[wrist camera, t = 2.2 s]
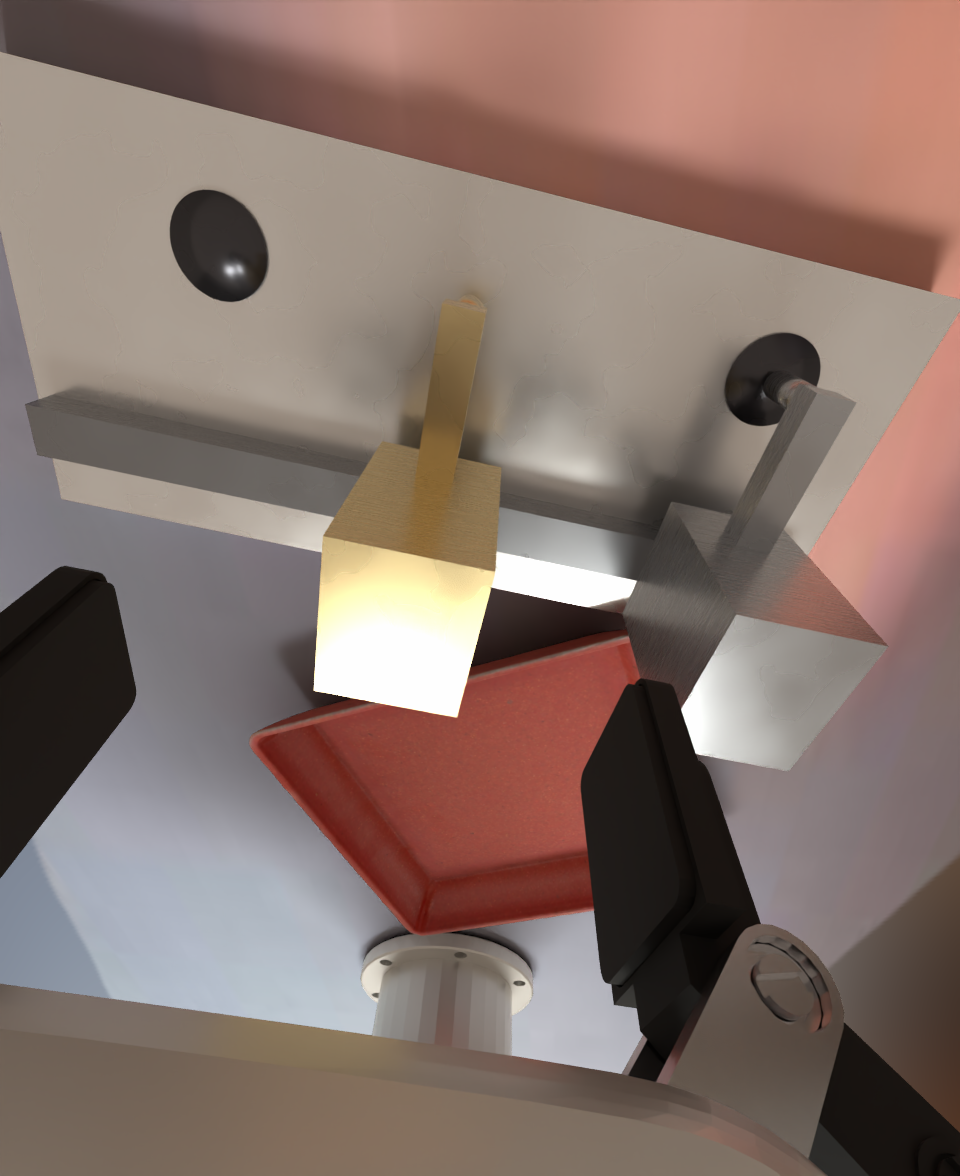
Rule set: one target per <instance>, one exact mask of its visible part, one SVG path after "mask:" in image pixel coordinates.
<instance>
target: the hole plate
mask: <svg viewBox="0 0 960 1176" xmlns="http://www.w3.org/2000/svg"><path fill="white" fill-rule="evenodd" d="M0 231H1V235H2V239H3V244H4V248H5V253H6V257H7V261H8V266H9V270H10V275H11V279H12V283H13V288H14V292H15V297H16V301H17V305H18V310H19V314H20V319H21V323H22V327H23V332H24V336H25V340H26V345H27V349H28V354H29V358H30V362H31V367H32V371H33V376H34V380H35V384H36V389H37V393H38V398H39V400H36V401H33V402H30V403H28V404H25V406H26V410H27V414H28V418H29V422H30V426H31V430H32V435H33V439H34V443H35V447H36V451H37V455H40V456H45V457H50V458H52V459H53V463H54V468H55V472H56V477H57V481H58V485H59V490H60V494H61V499H64V500H69V501H74V502H79V503H84V504H88V505H93V506H98V507H103V508H108V509H113V510H118V511H122V512H127V513H132V514H137V515H142V516H147V517H152V518H156V519H161V520H166V521H171V522H176V523H181V524H186V525H191V526H195V527H200V528H205V529H210V530H215V531H220V532H225V533H229V534H234V535H239V536H244V537H249V538H254V539H259V540H263V541H268V542H273V543H278V544H283V545H288V546H293V547H297V548H302V549H307V550H312V551H317V552H322V541H323V535H324V533H325V532H326V530H327V529H328V527H329V525H330V524H331V522H332V521H333V519H334V517H335V516H336V514H337V513H338V511H339V509H340V508H341V506H342V505H343V503H344V501H345V500H346V498H347V497H348V495H349V493H350V492H351V490H352V489H353V487H354V485H355V484H356V482H357V481H358V479H359V477H360V476H361V474H362V473H363V471H364V469H365V468H366V466H367V465H368V463H369V461H370V460H371V458H372V457H373V455H374V453H375V452H376V450H377V449H378V447H379V445H380V444H381V442H382V441H384V442H389V443H393V444H398V445H402V446H407V447H411V448H416V449H420V443H421V437H422V430H423V424H424V417H425V411H426V404H427V398H428V391H429V385H430V378H431V372H432V365H433V358H434V352H435V345H436V339H437V332H438V326H439V319H440V313H441V306H442V302H443V301H444V300H445V299H446V298H448V299H452V300H456V301H458V300H459V299H460V298H461V297H462V296H464V295H468V294H470V295H474V296H476V297H478V298H479V299H480V300H481V302H482V304H483V306H484V307H485V308H487V313H486V318H485V323H484V328H483V333H482V338H481V343H480V349H479V354H478V359H477V364H476V369H475V374H474V379H473V384H472V390H471V395H470V400H469V405H468V410H467V415H466V420H465V425H464V431H463V436H462V441H461V446H460V451H459V456H458V458H461V459H465V460H470V461H474V462H479V463H483V464H488V465H493V466H497V467H501V483H500V501H499V519H498V536H497V554H496V572H495V576H494V579H493V583H492V588H497V589H502V590H507V591H511V592H516V593H521V594H526V595H531V596H536V597H541V598H545V599H550V600H555V601H560V602H565V603H570V604H575V605H579V606H584V607H589V608H594V609H599V610H604V611H609V612H613V613H618V614H623V618H624V621H625V625H626V628H627V632H628V636H629V639H630V643H631V646H632V650H633V654H634V657H635V661H636V664H637V668H638V671H639V675H640V678H644V679H649V680H654V681H659V682H664V683H670V684H671V685H672V686H673V687H674V689H675V692H676V695H677V698H678V701H679V704H680V707H681V710H682V713H683V716H684V719H685V722H686V725H687V728H688V731H689V735H690V738H691V741H692V744H693V747H694V750H695V753H696V754H699V755H705V756H710V757H715V758H720V759H726V760H731V761H736V762H742V763H747V764H752V765H757V766H763V767H768V768H773V769H779V770H784V771H789V770H790V769H791V768H792V766H793V765H794V764H795V763H796V761H797V760H798V759H799V758H800V756H801V755H802V754H803V753H804V751H805V750H806V749H807V748H808V746H809V745H810V744H811V743H812V741H813V740H814V739H815V738H816V736H817V735H818V734H819V733H820V731H821V730H822V729H823V728H824V726H825V725H826V724H827V723H828V721H829V720H830V719H831V718H832V716H833V715H834V714H835V713H836V711H837V710H838V709H839V708H840V706H841V705H842V704H843V703H844V701H845V700H846V699H847V698H848V696H849V695H850V694H851V693H852V691H853V690H854V689H855V688H856V686H857V685H858V684H859V683H860V681H861V680H862V679H863V678H864V676H865V675H866V674H867V673H868V671H869V670H870V669H871V668H872V666H873V665H874V664H875V663H876V661H877V660H878V659H879V658H880V656H881V655H882V654H883V653H884V651H885V650H886V649H887V648H888V645H887V644H886V643H885V642H884V641H883V640H882V639H881V638H880V636H879V635H878V634H877V633H876V632H875V631H874V630H873V629H872V628H871V626H870V625H869V624H868V623H867V622H866V621H865V620H864V619H863V617H862V616H861V615H860V614H859V613H858V612H857V611H856V610H855V609H854V607H853V606H852V605H851V604H850V603H849V602H848V601H847V600H846V598H845V597H844V596H843V595H842V594H841V593H840V592H839V591H838V590H837V588H836V587H835V586H834V585H833V584H832V583H831V582H830V581H829V579H828V578H827V577H826V576H825V575H824V574H823V573H822V572H821V570H820V569H819V568H818V567H817V566H816V565H815V564H814V563H813V562H812V560H811V559H810V558H809V557H808V554H809V553H810V551H811V549H812V548H813V546H814V545H815V543H816V541H817V540H818V538H819V537H820V535H821V533H822V532H823V530H824V529H825V527H826V525H827V524H828V522H829V520H830V519H831V517H832V516H833V514H834V512H835V511H836V509H837V508H838V506H839V504H840V503H841V501H842V500H843V498H844V496H845V495H846V493H847V492H848V490H849V488H850V487H851V485H852V484H853V482H854V480H855V479H856V477H857V476H858V474H859V472H860V471H861V469H862V468H863V466H864V464H865V463H866V461H867V459H868V458H869V456H870V455H871V453H872V451H873V450H874V448H875V447H876V445H877V443H878V442H879V440H880V439H881V437H882V435H883V434H884V432H885V431H886V429H887V427H888V426H889V424H890V423H891V421H892V419H893V418H894V416H895V415H896V413H897V411H898V410H899V408H900V406H901V405H902V403H903V402H904V400H905V398H906V397H907V395H908V394H909V392H910V390H911V389H912V387H913V386H914V384H915V382H916V381H917V379H918V378H919V376H920V374H921V373H922V371H923V370H924V368H925V366H926V365H927V363H928V362H929V360H930V358H931V357H932V355H933V354H934V352H935V350H936V349H937V347H938V345H939V344H940V342H941V341H942V339H943V337H944V336H945V334H946V333H947V331H948V329H949V328H950V326H951V325H952V323H953V321H954V320H955V318H956V317H957V315H958V313H959V312H960V299H956V298H952V297H949V296H945V295H941V294H937V293H933V292H929V291H925V290H921V289H918V288H914V287H910V286H906V285H902V284H898V283H894V282H890V281H887V280H883V279H879V278H875V277H871V276H867V275H863V274H859V273H856V272H852V271H848V270H844V269H840V268H836V267H832V266H828V265H824V264H821V263H817V262H813V261H809V260H805V259H801V258H797V257H793V256H790V255H786V254H782V253H778V252H774V251H770V250H766V249H762V248H759V247H755V246H751V245H747V244H743V243H739V242H735V241H731V240H728V239H724V238H720V237H716V236H712V235H708V234H704V233H700V232H697V231H693V230H689V229H685V228H681V227H677V226H673V225H669V224H666V223H662V222H658V221H654V220H650V219H646V218H642V217H638V216H634V215H631V214H627V213H623V212H619V211H615V210H611V209H607V208H603V207H600V206H596V205H592V204H588V203H584V202H580V201H576V200H572V199H569V198H565V197H561V196H557V195H553V194H549V193H545V192H541V191H538V190H534V189H530V188H526V187H522V186H518V185H514V184H510V183H507V182H503V181H499V180H495V179H491V178H487V177H483V176H479V175H476V174H472V173H468V172H464V171H460V170H456V169H452V168H448V167H444V166H441V165H437V164H433V163H429V162H425V161H421V160H417V159H413V158H410V157H406V156H402V155H398V154H394V153H390V152H386V151H382V150H379V149H375V148H371V147H367V146H363V145H359V144H355V143H351V142H348V141H344V140H340V139H336V138H332V137H328V136H324V135H320V134H317V133H313V132H309V131H305V130H301V129H297V128H293V127H289V126H285V125H282V124H278V123H274V122H270V121H266V120H262V119H258V118H254V117H251V116H247V115H243V114H239V113H235V112H231V111H227V110H223V109H220V108H216V107H212V106H208V105H204V104H200V103H196V102H192V101H189V100H185V99H181V98H177V97H173V96H169V95H165V94H161V93H158V92H154V91H150V90H146V89H142V88H138V87H134V86H130V85H127V84H123V83H119V82H115V81H111V80H107V79H103V78H99V77H95V76H92V75H88V74H84V73H80V72H76V71H72V70H68V69H64V68H61V67H57V66H53V65H49V64H45V63H41V62H37V61H33V60H30V59H26V58H22V57H18V56H14V55H10V54H6V53H2V52H0Z"/></svg>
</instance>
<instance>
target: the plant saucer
mask: <svg viewBox="0 0 960 1176" xmlns="http://www.w3.org/2000/svg"><path fill="white" fill-rule="evenodd" d="M638 679H640V675H639V671H638V668H637V664H636V661H635V657H634V654H633V650H632V646H631V643H630V639H629V636H628V632H627V630H617V631H608V632H603V633H598V634H594V635H590V636H586V637H582V638H578V639H574V640H571V641H567V642H563V643H560V644H556V645H552V646H548V647H545V648H541V649H537V650H534V651H530V652H526V653H523V654H519V655H515V656H512V657H508V658H504V659H501V660H496V661H493V662H489V663H486V664H482V665H478V666H474V667H470V670H469V673H468V677H467V681H466V685H465V689H464V692H463V696H462V700H461V704H460V707H459V711H458V715H457V717H452V716H446V715H441V714H436V713H431V712H425V711H420V710H415V709H409V708H404V707H399V706H393V705H388V704H383V703H377V702H372V701H367V700H361V699H356V698H353V699H349V700H346V701H342V702H338V703H334V704H330V705H327V706H323V707H320V708H316V709H312V710H309V711H306V712H303V713H300V714H297V715H294V716H292V717H289V718H286V719H284V720H281V721H279V722H276V723H274V724H272V725H269V726H267V727H265V728H263V729H261V730H259V731H257V732H255V733H254V734H252V735H251V737H250V740H249V744H250V747H251V749H252V750H253V752H254V753H255V754H256V755H257V756H258V757H259V758H260V760H261V761H262V762H263V763H264V765H265V766H266V767H267V768H268V769H269V770H270V771H271V772H272V774H273V775H274V776H275V777H276V779H277V780H278V781H279V782H280V783H281V785H282V786H283V787H284V788H285V789H286V790H287V791H288V792H289V793H290V795H291V796H292V797H293V798H294V799H295V801H296V802H297V803H298V804H299V805H300V807H301V808H302V809H303V810H304V811H305V812H306V813H307V815H308V816H309V817H310V818H311V819H312V820H313V822H314V823H315V824H316V825H317V826H318V827H319V829H320V830H321V832H322V833H323V834H324V835H325V836H326V837H327V838H328V839H329V840H330V841H331V842H332V844H333V845H334V846H335V847H336V848H337V850H338V851H339V852H340V853H341V854H342V855H343V857H344V858H345V859H346V860H347V861H348V862H349V864H350V865H351V866H352V867H353V868H354V870H355V871H356V872H357V873H358V874H359V875H360V876H361V877H362V878H363V880H364V881H365V882H366V883H367V885H368V886H369V887H370V888H371V889H372V890H373V891H374V892H375V893H376V895H377V896H378V897H379V898H380V899H381V901H382V902H383V903H384V904H385V905H386V906H387V907H388V908H389V910H390V911H391V912H392V913H393V914H394V915H395V917H396V918H397V919H398V920H399V922H400V923H401V924H402V925H403V926H404V927H405V928H406V929H407V930H408V931H409V932H411V933H413V934H417V935H420V936H425V935H434V934H441V933H447V932H454V931H460V930H467V929H474V928H481V927H487V926H494V925H501V924H508V923H514V922H522V921H528V920H534V919H540V918H549V917H555V916H560V915H569V914H574V913H582V912H589V911H594V906H593V897H592V888H591V879H590V870H589V861H588V852H587V843H586V834H585V825H584V816H583V807H582V798H581V787H580V786H581V776H582V772H583V770H584V768H585V766H586V764H587V762H588V760H589V758H590V756H591V754H592V752H593V750H594V748H595V746H596V744H597V742H598V740H599V738H600V736H601V734H602V732H603V730H604V728H605V726H606V724H607V722H608V720H609V718H610V716H611V714H612V712H613V710H614V708H615V706H616V704H617V702H618V700H619V698H620V696H621V694H622V692H623V690H624V688H625V687H626V685H628V684H634V685H635V683H636V681H637V680H638Z"/></svg>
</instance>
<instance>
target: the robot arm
mask: <svg viewBox="0 0 960 1176" xmlns="http://www.w3.org/2000/svg"><path fill="white" fill-rule="evenodd" d="M135 697H136V686H135V682H134V677H133V672H132V667H131V663H130V658H129V653H128V648H127V644H126V639H125V634H124V629H123V625H122V620H121V615H120V610H119V606H118V601H117V596H116V592H115V588H114V586H113V585H112V584H111V583H107V581H106V578H105V576H104V575H103V574H101V573H99V572H94V571H89V570H84V569H79V568H74V567H68V566H63V567H59V568H58V569H56V570H54V571H53V572H52V573H50V574H49V575H48V576H47V577H45V578H44V579H43V580H42V581H40V582H39V583H38V584H36V585H35V586H34V587H33V588H31V589H30V590H29V591H28V592H26V593H25V594H24V595H22V596H21V597H20V598H19V599H17V600H16V601H15V602H14V603H12V604H11V605H10V606H8V607H7V608H6V609H5V610H3V611H2V612H1V613H0V878H1V877H2V876H3V874H4V873H5V872H6V870H7V869H8V868H9V866H10V865H11V864H12V863H13V861H14V860H15V859H16V857H17V856H18V855H19V853H20V852H21V851H22V850H23V848H24V847H25V846H26V844H27V843H28V842H29V840H30V839H31V838H32V837H33V835H34V834H35V833H36V831H37V830H38V829H39V827H40V826H41V825H42V824H43V822H44V821H45V820H46V818H47V817H48V816H49V814H50V813H51V812H52V811H53V809H54V808H55V807H56V805H57V804H58V803H59V801H60V800H61V799H62V798H63V796H64V795H65V794H66V792H67V791H68V790H69V788H70V787H71V786H72V784H73V783H74V782H75V781H76V779H77V778H78V777H79V775H80V774H81V773H82V771H83V770H84V769H85V768H86V766H87V765H88V764H89V762H90V761H91V760H92V758H93V757H94V756H95V755H96V753H97V752H98V751H99V749H100V748H101V747H102V745H103V744H104V743H105V742H106V740H107V739H108V738H109V736H110V735H111V734H112V732H113V731H114V730H115V729H116V727H117V726H118V725H119V723H120V722H121V721H122V719H123V718H124V717H125V716H126V714H127V713H128V712H129V710H130V709H131V707H132V705H133V703H134V700H135ZM580 787H581V798H582V807H583V816H584V825H585V834H586V843H587V852H588V861H589V870H590V879H591V888H592V897H593V906H594V915H595V924H596V933H597V942H598V951H599V960H600V969H601V974H602V977H603V980H604V981H605V983H608V984H611V985H612V993H613V1001H614V1005H618V1006H625V1007H632V1008H637V1012H638V1019H639V1025H640V1031H641V1032H642V1034H643V1036H642V1038H641V1040H640V1041H639V1043H638V1045H637V1047H636V1049H635V1050H634V1052H633V1054H632V1056H631V1058H630V1060H629V1061H628V1063H627V1065H626V1067H625V1069H624V1070H623V1072H622V1074H618V1073H613V1072H607V1071H601V1070H595V1069H589V1068H582V1067H576V1066H570V1065H564V1064H558V1063H552V1062H546V1061H540V1060H534V1059H528V1058H522V1057H516V1056H512V1015H514V1014H516V1013H518V1012H519V1011H521V1010H522V1009H524V1008H525V1007H526V1005H527V1004H528V1003H529V1002H530V1001H531V998H532V996H533V976H532V972H531V969H530V968H529V966H528V965H527V963H526V962H525V961H524V960H523V959H522V958H520V957H519V956H518V955H517V954H516V953H514V952H512V951H511V950H509V949H507V948H506V947H503V946H501V945H499V944H496V943H494V942H492V941H488V940H485V939H481V938H478V937H474V936H468V935H463V934H456V933H441V934H434V935H425V936H420V935H417V934H408V935H403V936H399V937H395V938H392V939H390V940H387V941H385V942H382V943H381V944H379V945H378V946H376V947H374V948H373V949H372V950H371V951H370V952H369V953H368V954H367V955H366V957H365V960H364V962H363V967H362V973H361V978H360V979H361V983H362V987H363V988H364V990H365V991H366V993H367V994H368V995H369V996H370V997H371V998H372V999H373V1000H374V1001H375V1002H377V1003H378V1004H377V1009H376V1015H375V1021H374V1026H373V1032H372V1035H365V1034H358V1033H352V1032H345V1031H338V1030H330V1029H323V1028H316V1027H309V1026H302V1025H295V1024H288V1023H281V1022H274V1021H267V1020H259V1019H252V1018H245V1017H238V1016H231V1015H224V1014H217V1013H210V1012H202V1011H195V1010H188V1009H181V1008H174V1007H167V1006H159V1005H152V1004H145V1003H138V1002H131V1001H123V1000H116V999H109V998H101V997H94V996H86V995H79V994H72V993H64V992H56V991H49V990H42V989H35V988H27V987H19V986H11V985H5V984H0V1176H960V1133H959V1132H958V1131H957V1130H956V1129H955V1128H954V1127H953V1126H952V1125H951V1124H950V1123H949V1122H948V1121H947V1120H946V1119H945V1118H944V1117H942V1115H941V1114H940V1113H938V1112H937V1111H936V1110H935V1109H934V1108H933V1107H932V1106H931V1105H930V1104H929V1103H928V1102H927V1101H926V1100H925V1099H924V1098H923V1097H922V1096H921V1095H920V1094H919V1093H918V1092H917V1091H915V1090H914V1089H913V1088H912V1087H911V1086H910V1085H909V1084H908V1083H907V1082H906V1081H905V1080H904V1079H903V1078H902V1077H901V1076H900V1075H899V1074H898V1073H896V1072H895V1071H894V1070H893V1069H892V1068H891V1067H890V1066H889V1065H888V1064H887V1063H886V1062H885V1061H884V1060H883V1059H882V1058H881V1057H880V1056H879V1055H878V1054H877V1053H876V1052H874V1051H873V1050H872V1049H871V1048H870V1047H869V1046H868V1045H867V1044H866V1043H865V1042H864V1041H863V1040H862V1039H861V1038H860V1037H859V1036H858V1035H857V1034H856V1033H855V1032H854V1031H853V1030H852V1029H851V1028H849V1027H848V1026H847V1025H846V1024H845V1023H844V1009H843V1005H842V1000H841V996H840V993H839V991H838V989H837V986H836V984H835V982H834V980H833V978H832V976H831V974H830V973H829V971H828V970H827V968H826V967H825V965H824V964H823V963H822V961H821V960H820V958H819V957H818V956H817V955H816V954H815V953H814V952H813V951H812V950H811V949H810V948H809V947H808V946H807V945H806V944H805V943H804V942H803V941H801V940H800V939H798V938H797V937H795V936H794V935H792V934H791V933H789V932H788V931H786V930H783V929H781V928H778V927H776V926H773V925H765V924H761V923H760V920H759V917H758V914H757V911H756V908H755V905H754V902H753V899H752V897H751V894H750V891H749V888H748V885H747V882H746V879H745V876H744V873H743V870H742V867H741V864H740V861H739V859H738V856H737V853H736V850H735V847H734V844H733V841H732V838H731V835H730V832H729V829H728V826H727V823H726V820H725V818H724V815H723V812H722V809H721V806H720V803H719V800H718V797H717V794H716V791H715V788H714V785H713V782H712V780H711V777H710V774H709V772H708V770H707V768H706V766H705V765H704V764H703V763H702V762H701V761H698V759H697V756H696V753H695V750H694V747H693V744H692V741H691V738H690V735H689V731H688V728H687V725H686V722H685V719H684V716H683V713H682V710H681V707H680V704H679V701H678V698H677V695H676V692H675V689H674V687H673V686H672V685H671V684H670V683H664V682H659V681H654V680H649V679H644V678H640V679H638V680H637V681H636V683H635V685H634V684H628V685H626V687H625V688H624V690H623V692H622V694H621V696H620V698H619V700H618V702H617V704H616V706H615V708H614V710H613V712H612V714H611V716H610V718H609V720H608V722H607V724H606V726H605V728H604V730H603V732H602V734H601V736H600V738H599V740H598V742H597V744H596V746H595V748H594V750H593V752H592V754H591V756H590V758H589V760H588V762H587V764H586V766H585V768H584V770H583V772H582V776H581V786H580Z"/></svg>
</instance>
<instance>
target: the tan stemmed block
mask: <svg viewBox="0 0 960 1176" xmlns="http://www.w3.org/2000/svg"><path fill="white" fill-rule="evenodd" d="M486 313H487V308H485V307H484V306H483V304H482V302H481V300H480V299H479V298H478V297H476V296H474V295H470V294H468V295H464V296H462V297H461V298H460V299H459V300H458V301H456V300H452V299H448V298H446V299H445V300H444V301H443V302H442V306H441V313H440V319H439V326H438V332H437V339H436V345H435V352H434V358H433V365H432V372H431V378H430V385H429V391H428V398H427V404H426V411H425V417H424V424H423V430H422V437H421V443H420V449H416V448H411V447H407V446H402V445H398V444H393V443H389V442H384V441H382V442H381V444H380V445H379V447H378V449H377V450H376V452H375V453H374V455H373V457H372V458H371V460H370V461H369V463H368V465H367V466H366V468H365V469H364V471H363V473H362V474H361V476H360V477H359V479H358V481H357V482H356V484H355V485H354V487H353V489H352V490H351V492H350V493H349V495H348V497H347V498H346V500H345V501H344V503H343V505H342V506H341V508H340V509H339V511H338V513H337V514H336V516H335V517H334V519H333V521H332V522H331V524H330V525H329V527H328V529H327V530H326V532H325V533H324V535H323V541H322V558H321V575H320V592H319V609H318V626H317V643H316V660H315V677H314V691H319V692H324V693H330V694H335V695H340V696H346V697H351V698H356V699H361V700H367V701H372V702H377V703H383V704H388V705H393V706H399V707H404V708H409V709H415V710H420V711H425V712H431V713H436V714H441V715H446V716H452V717H457V715H458V711H459V707H460V704H461V700H462V696H463V692H464V689H465V685H466V681H467V677H468V673H469V670H470V666H471V662H472V658H473V655H474V651H475V647H476V643H477V640H478V636H479V632H480V628H481V625H482V621H483V617H484V613H485V610H486V606H487V602H488V598H489V594H490V591H491V587H492V583H493V579H494V576H495V572H496V554H497V536H498V519H499V501H500V483H501V467H497V466H493V465H488V464H483V463H479V462H474V461H470V460H465V459H461V458H458V456H459V451H460V446H461V441H462V436H463V431H464V425H465V420H466V415H467V410H468V405H469V400H470V395H471V390H472V384H473V379H474V374H475V369H476V364H477V359H478V354H479V349H480V343H481V338H482V333H483V328H484V323H485V318H486Z"/></svg>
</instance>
